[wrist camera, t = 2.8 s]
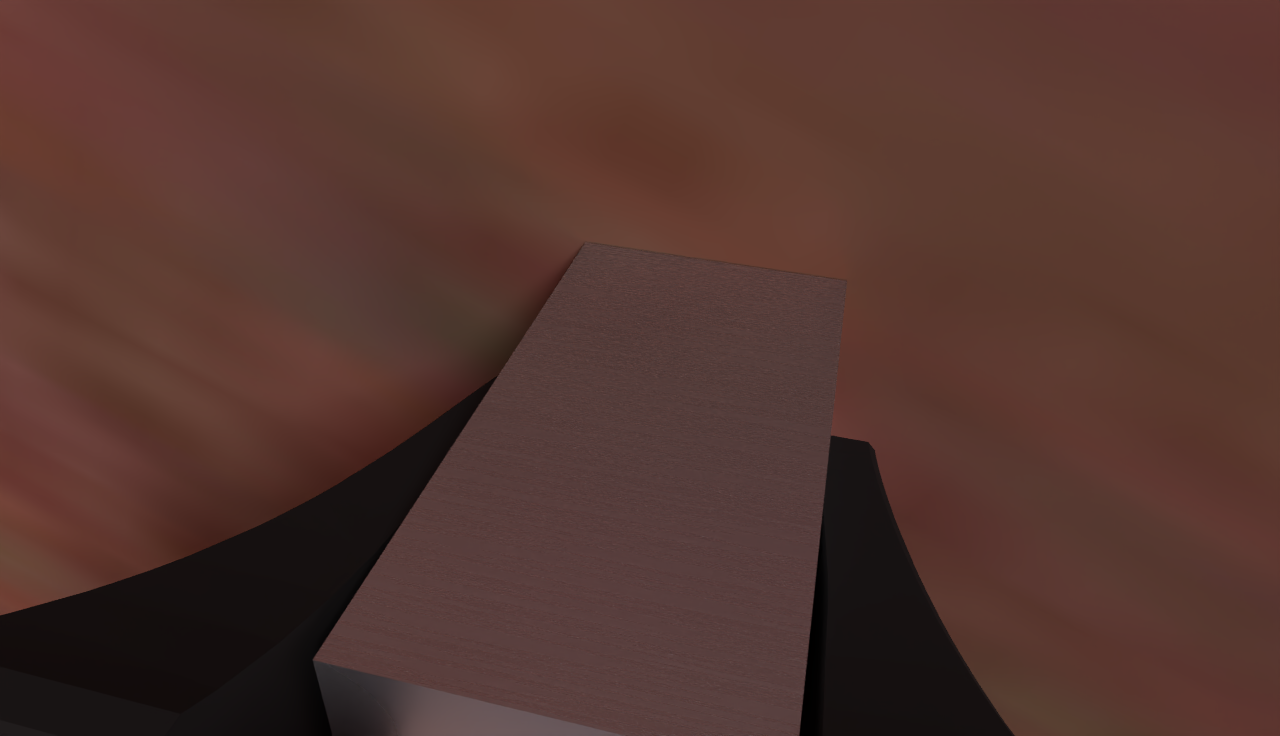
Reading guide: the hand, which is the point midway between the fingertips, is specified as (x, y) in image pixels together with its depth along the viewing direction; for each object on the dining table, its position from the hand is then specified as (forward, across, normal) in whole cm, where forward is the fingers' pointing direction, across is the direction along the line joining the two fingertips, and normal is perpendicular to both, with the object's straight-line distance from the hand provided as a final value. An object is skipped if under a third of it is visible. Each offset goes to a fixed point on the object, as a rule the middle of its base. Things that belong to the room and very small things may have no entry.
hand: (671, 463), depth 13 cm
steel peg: (+2, 0, 0) cm, 2 cm away
